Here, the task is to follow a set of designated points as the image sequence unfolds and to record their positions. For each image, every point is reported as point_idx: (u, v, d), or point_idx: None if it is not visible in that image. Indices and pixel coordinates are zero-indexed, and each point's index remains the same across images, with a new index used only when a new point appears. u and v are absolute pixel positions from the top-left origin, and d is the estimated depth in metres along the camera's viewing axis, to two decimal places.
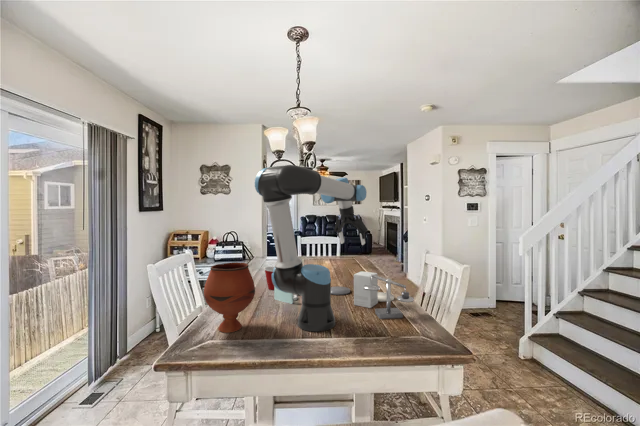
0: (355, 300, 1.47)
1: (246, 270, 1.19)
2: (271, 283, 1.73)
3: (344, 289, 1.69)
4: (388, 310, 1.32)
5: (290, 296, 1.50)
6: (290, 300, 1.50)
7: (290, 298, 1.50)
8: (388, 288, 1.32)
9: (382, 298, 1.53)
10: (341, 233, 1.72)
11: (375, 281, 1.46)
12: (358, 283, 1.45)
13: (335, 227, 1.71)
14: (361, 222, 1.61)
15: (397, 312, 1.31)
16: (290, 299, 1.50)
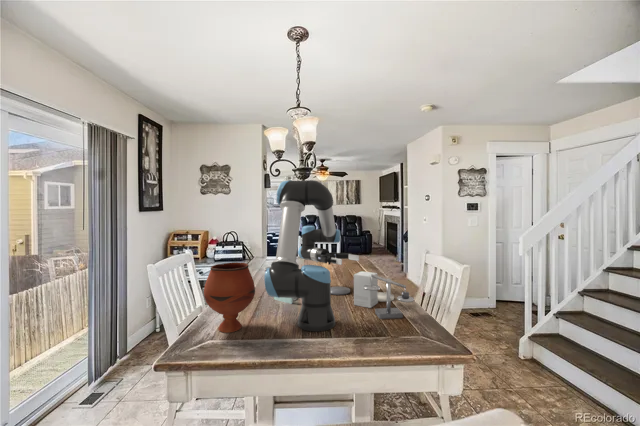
0: (355, 300, 1.47)
1: (246, 270, 1.19)
2: None
3: (344, 289, 1.69)
4: (388, 310, 1.32)
5: None
6: (289, 300, 1.50)
7: (290, 298, 1.50)
8: (388, 288, 1.32)
9: (382, 298, 1.53)
10: None
11: (375, 281, 1.46)
12: (358, 283, 1.45)
13: (324, 257, 1.55)
14: None
15: (397, 312, 1.31)
16: (289, 299, 1.50)
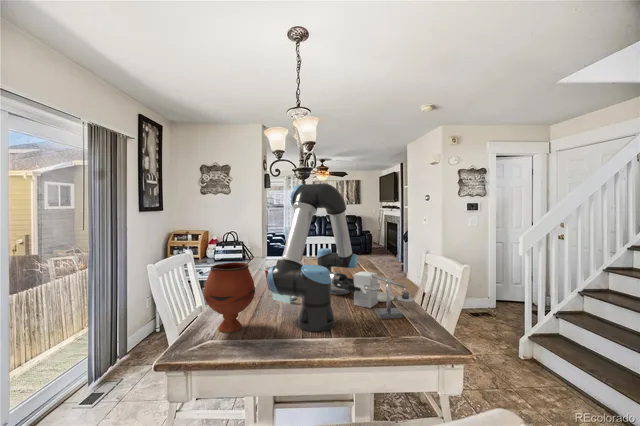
0: (355, 300, 1.47)
1: (246, 270, 1.19)
2: None
3: (344, 289, 1.69)
4: (388, 310, 1.32)
5: (288, 296, 1.50)
6: (288, 300, 1.50)
7: (288, 298, 1.50)
8: (388, 288, 1.32)
9: (382, 298, 1.53)
10: None
11: (375, 280, 1.46)
12: (358, 283, 1.45)
13: (347, 285, 1.47)
14: None
15: (397, 312, 1.31)
16: (288, 299, 1.50)
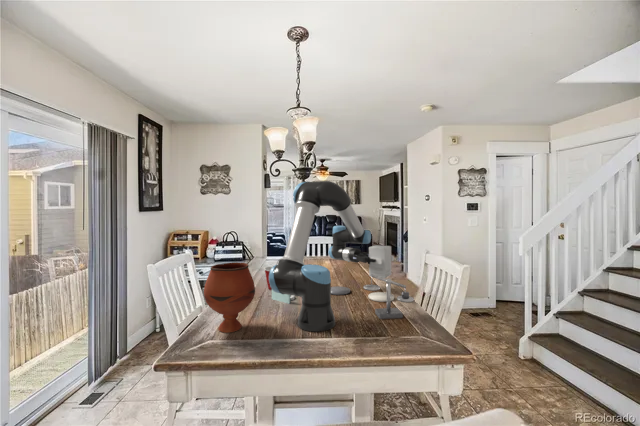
0: (370, 271, 1.55)
1: (246, 270, 1.19)
2: None
3: (344, 289, 1.69)
4: (388, 310, 1.32)
5: (287, 296, 1.50)
6: (287, 300, 1.50)
7: (287, 298, 1.50)
8: (388, 288, 1.32)
9: (382, 298, 1.53)
10: None
11: (389, 253, 1.55)
12: (373, 255, 1.54)
13: (362, 257, 1.55)
14: None
15: (397, 312, 1.31)
16: (287, 299, 1.50)
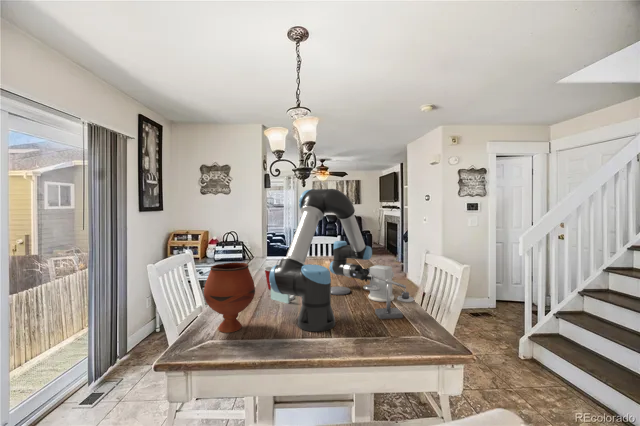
0: (371, 292, 1.56)
1: (246, 270, 1.19)
2: None
3: (344, 289, 1.69)
4: (388, 310, 1.32)
5: (286, 296, 1.51)
6: (286, 300, 1.51)
7: (286, 298, 1.51)
8: (388, 288, 1.32)
9: (382, 298, 1.53)
10: None
11: (390, 273, 1.55)
12: None
13: (360, 274, 1.55)
14: None
15: (397, 312, 1.31)
16: (286, 299, 1.51)
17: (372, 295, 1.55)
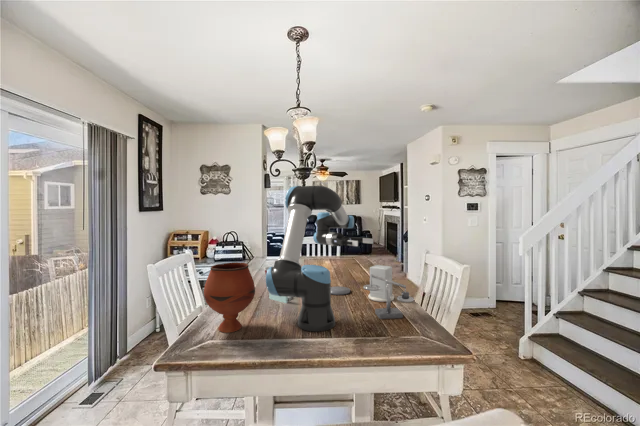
0: (371, 292, 1.56)
1: (246, 270, 1.19)
2: None
3: (344, 289, 1.69)
4: (388, 310, 1.32)
5: None
6: (284, 299, 1.51)
7: (285, 297, 1.51)
8: (388, 288, 1.32)
9: (382, 298, 1.53)
10: None
11: (390, 273, 1.55)
12: None
13: (340, 240, 1.64)
14: None
15: (397, 312, 1.31)
16: (284, 298, 1.51)
17: (372, 295, 1.55)
